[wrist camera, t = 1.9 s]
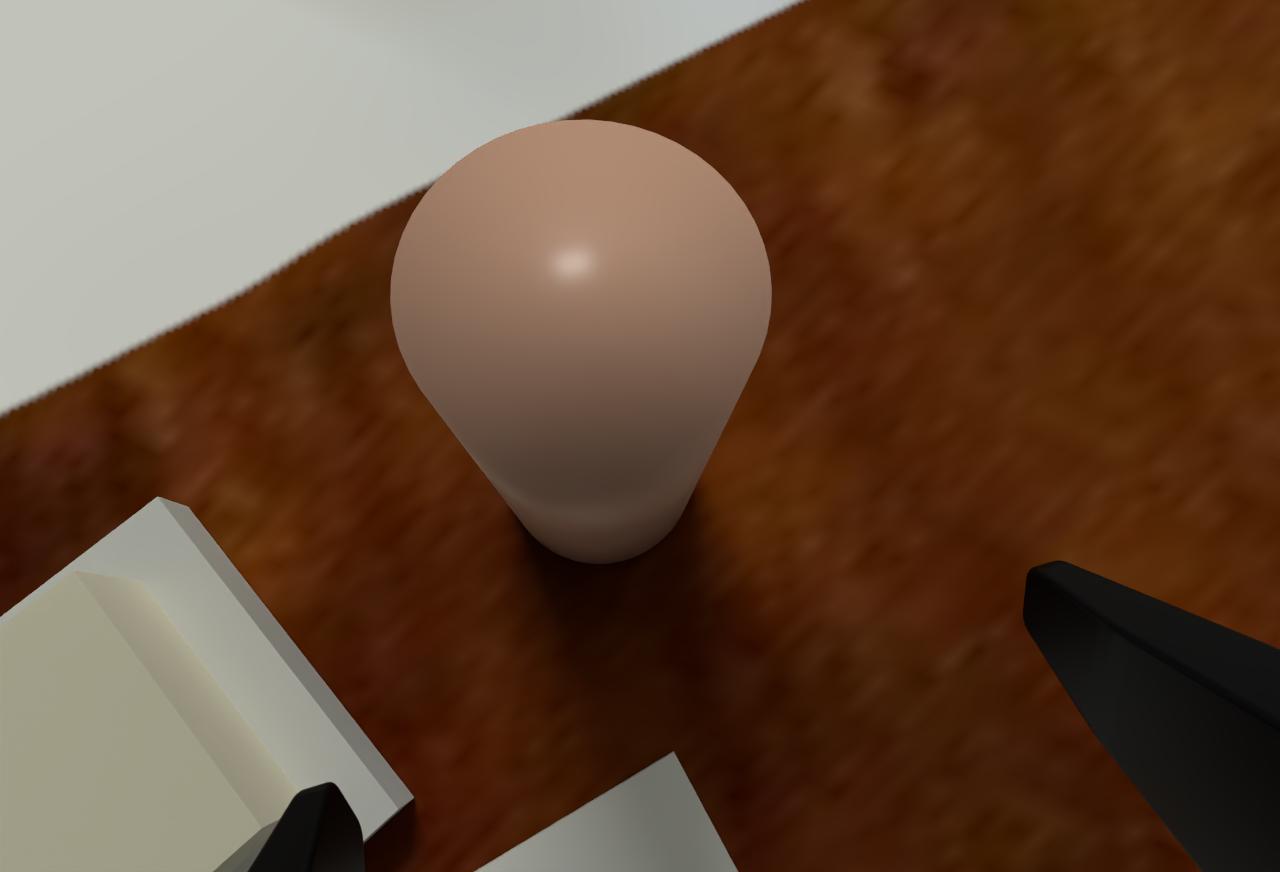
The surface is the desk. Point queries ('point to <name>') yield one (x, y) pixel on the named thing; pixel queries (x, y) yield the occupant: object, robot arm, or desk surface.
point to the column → (584, 324)
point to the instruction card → (628, 831)
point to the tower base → (246, 654)
